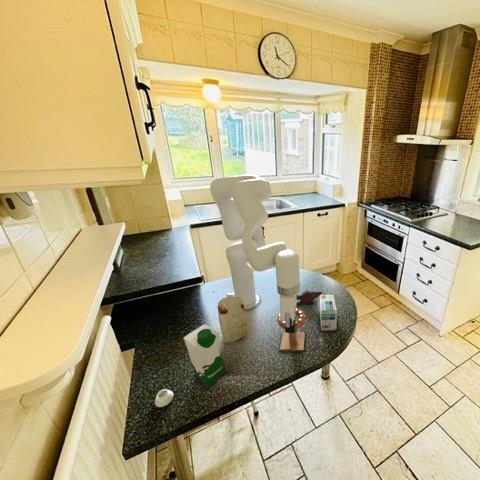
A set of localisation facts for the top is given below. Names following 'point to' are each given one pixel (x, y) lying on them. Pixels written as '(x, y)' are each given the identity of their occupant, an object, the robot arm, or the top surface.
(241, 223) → the robot arm
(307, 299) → the dinosaur toy
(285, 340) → the stand
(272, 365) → the top surface
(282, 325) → the ring
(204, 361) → the milk carton
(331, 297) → the light bulb box
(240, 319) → the food model
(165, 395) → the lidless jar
